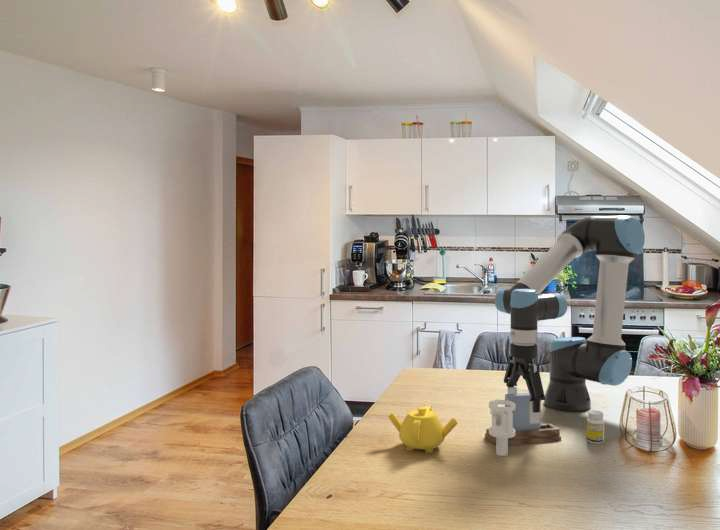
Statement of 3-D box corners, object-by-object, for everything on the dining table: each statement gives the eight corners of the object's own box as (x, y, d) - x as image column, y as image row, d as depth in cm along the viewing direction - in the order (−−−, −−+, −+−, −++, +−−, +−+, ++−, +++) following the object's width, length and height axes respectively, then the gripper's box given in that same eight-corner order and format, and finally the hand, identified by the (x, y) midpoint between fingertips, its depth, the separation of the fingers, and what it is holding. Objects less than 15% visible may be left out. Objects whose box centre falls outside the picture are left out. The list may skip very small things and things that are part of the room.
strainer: (483, 451, 169) (483, 397, 168) (504, 447, 172) (505, 394, 171) (498, 460, 163) (499, 404, 162) (520, 456, 166) (521, 401, 165)
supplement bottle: (591, 437, 180) (591, 408, 179) (607, 441, 176) (607, 412, 176) (583, 441, 176) (584, 412, 176) (599, 445, 173) (600, 416, 172)
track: (546, 430, 185) (547, 421, 185) (561, 440, 177) (561, 429, 177) (484, 436, 181) (484, 426, 181) (496, 446, 173) (496, 435, 173)
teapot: (463, 440, 178) (463, 402, 178) (451, 463, 162) (451, 421, 161) (396, 432, 185) (396, 396, 184) (378, 454, 168) (378, 414, 167)
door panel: (535, 431, 182) (535, 391, 181) (540, 434, 179) (540, 394, 178) (503, 434, 180) (504, 393, 179) (508, 437, 177) (508, 396, 176)
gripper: (492, 335, 188) (492, 404, 190) (533, 352, 164) (532, 430, 166) (515, 334, 190) (514, 402, 192) (558, 351, 166) (557, 428, 167)
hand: (522, 415), depth 179 cm, fingers open, 13 cm apart
